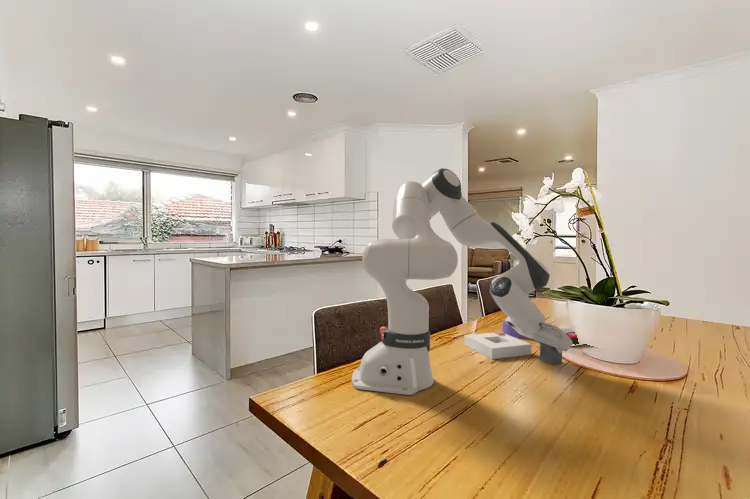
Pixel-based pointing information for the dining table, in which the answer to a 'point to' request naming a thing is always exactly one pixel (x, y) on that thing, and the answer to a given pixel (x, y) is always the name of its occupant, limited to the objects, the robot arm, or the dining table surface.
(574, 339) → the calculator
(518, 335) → the tape roll
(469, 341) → the socket
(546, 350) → the plug
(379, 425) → the dining table surface
